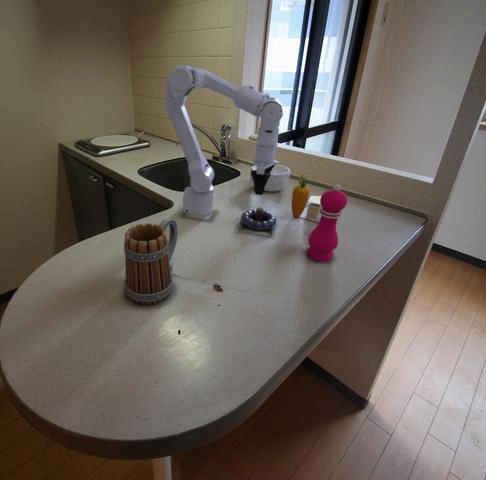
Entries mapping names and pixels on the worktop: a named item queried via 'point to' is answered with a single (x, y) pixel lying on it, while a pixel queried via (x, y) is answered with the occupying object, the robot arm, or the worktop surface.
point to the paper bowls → (275, 178)
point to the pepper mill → (327, 225)
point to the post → (258, 218)
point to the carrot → (300, 197)
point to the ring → (255, 224)
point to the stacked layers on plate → (312, 209)
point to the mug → (149, 261)
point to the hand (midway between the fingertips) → (260, 189)
